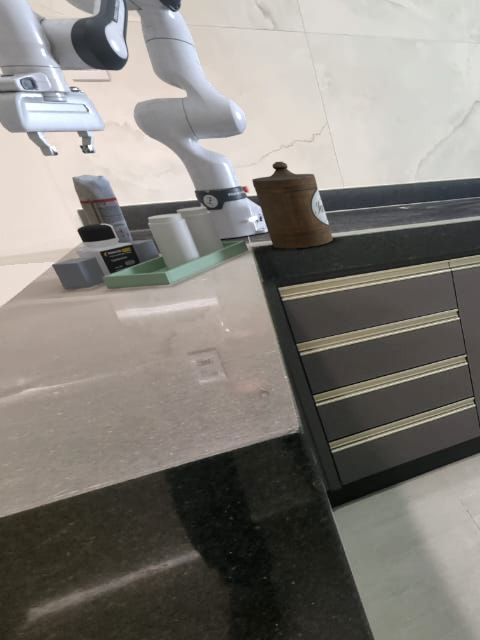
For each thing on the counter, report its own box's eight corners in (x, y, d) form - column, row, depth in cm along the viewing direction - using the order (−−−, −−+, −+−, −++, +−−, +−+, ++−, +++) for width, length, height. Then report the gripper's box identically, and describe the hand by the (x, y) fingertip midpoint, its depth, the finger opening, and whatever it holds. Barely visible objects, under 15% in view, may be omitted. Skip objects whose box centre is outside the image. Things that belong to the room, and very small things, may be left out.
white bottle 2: (204, 254, 140) (185, 207, 135) (231, 252, 141) (213, 205, 136) (188, 260, 134) (167, 212, 129) (216, 259, 135) (197, 210, 129)
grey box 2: (141, 264, 136) (131, 240, 133) (162, 262, 136) (152, 239, 133) (127, 269, 131) (115, 245, 129) (149, 267, 132) (138, 244, 129)
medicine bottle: (113, 280, 122) (88, 228, 116) (90, 280, 123) (63, 228, 118) (145, 271, 128) (122, 221, 123) (122, 271, 129) (98, 221, 124)
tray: (199, 255, 142) (194, 243, 141) (249, 251, 143) (244, 240, 142) (108, 291, 114) (101, 277, 113) (171, 286, 115) (165, 272, 114)
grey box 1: (84, 284, 119) (71, 258, 117) (108, 283, 120) (95, 257, 117) (65, 291, 115) (51, 264, 112) (90, 289, 115) (77, 262, 113)
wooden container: (341, 241, 150) (317, 159, 141) (283, 252, 141) (254, 165, 131) (322, 235, 160) (299, 158, 150) (266, 245, 150) (238, 163, 140)
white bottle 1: (179, 264, 131) (158, 214, 126) (209, 262, 132) (189, 212, 127) (161, 271, 125) (137, 219, 120) (191, 269, 126) (170, 217, 120)
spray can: (131, 239, 167) (101, 173, 159) (139, 242, 163) (108, 174, 154) (96, 245, 161) (62, 176, 153) (103, 248, 157) (68, 177, 148)
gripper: (67, 87, 120) (96, 152, 126) (-29, 81, 101) (10, 158, 107) (96, 86, 120) (124, 151, 126) (6, 79, 102) (43, 156, 107)
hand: (71, 154), depth 116 cm, fingers open, 8 cm apart
